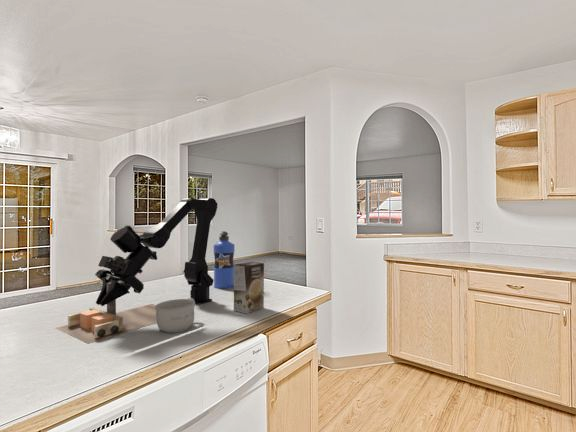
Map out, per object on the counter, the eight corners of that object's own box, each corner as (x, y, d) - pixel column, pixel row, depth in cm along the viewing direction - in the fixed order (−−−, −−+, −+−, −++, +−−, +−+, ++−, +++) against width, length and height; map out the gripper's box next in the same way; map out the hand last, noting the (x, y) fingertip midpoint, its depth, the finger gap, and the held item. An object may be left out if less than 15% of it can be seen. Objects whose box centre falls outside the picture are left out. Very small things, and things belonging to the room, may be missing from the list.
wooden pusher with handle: (100, 316, 109) (100, 278, 108) (131, 328, 98) (131, 286, 98) (67, 325, 101) (66, 284, 101) (97, 338, 90) (96, 292, 90)
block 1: (94, 322, 104) (94, 309, 104) (100, 325, 101) (100, 312, 101) (80, 326, 100) (79, 312, 100) (86, 329, 98) (86, 315, 98)
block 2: (106, 327, 100) (105, 313, 100) (113, 330, 97) (112, 316, 97) (91, 331, 96) (91, 317, 96) (98, 334, 94) (98, 320, 94)
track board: (151, 305, 124) (151, 303, 124) (187, 315, 113) (187, 313, 113) (55, 330, 99) (55, 328, 99) (88, 346, 88) (88, 343, 88)
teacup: (172, 339, 92) (172, 310, 92) (147, 332, 98) (146, 304, 97) (210, 324, 104) (209, 298, 104) (185, 318, 109) (185, 294, 109)
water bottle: (214, 284, 159) (214, 230, 159) (235, 283, 160) (234, 230, 160) (212, 289, 150) (212, 232, 150) (234, 288, 151) (233, 232, 151)
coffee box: (247, 314, 114) (246, 266, 114) (233, 310, 118) (233, 264, 118) (264, 307, 122) (264, 262, 121) (250, 304, 125) (250, 261, 125)
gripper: (101, 243, 109) (63, 284, 100) (133, 247, 98) (94, 293, 89) (125, 265, 115) (91, 305, 107) (158, 271, 105) (123, 316, 96)
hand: (99, 304), depth 99 cm, fingers closed on wooden pusher with handle, 2 cm apart
